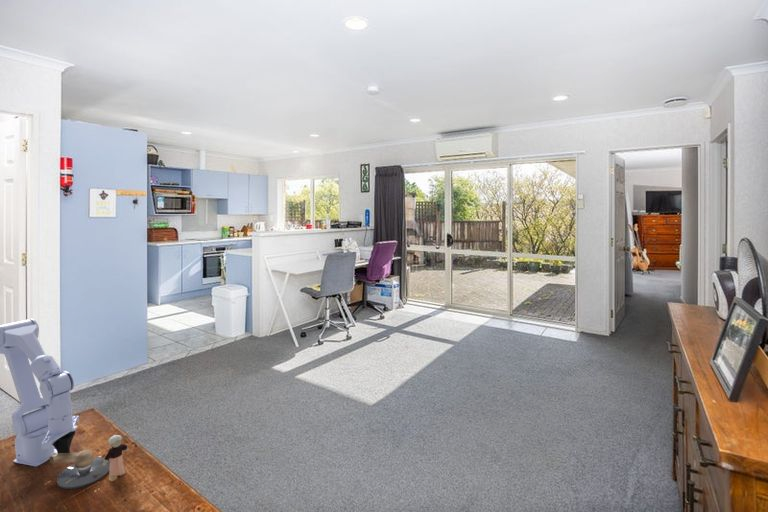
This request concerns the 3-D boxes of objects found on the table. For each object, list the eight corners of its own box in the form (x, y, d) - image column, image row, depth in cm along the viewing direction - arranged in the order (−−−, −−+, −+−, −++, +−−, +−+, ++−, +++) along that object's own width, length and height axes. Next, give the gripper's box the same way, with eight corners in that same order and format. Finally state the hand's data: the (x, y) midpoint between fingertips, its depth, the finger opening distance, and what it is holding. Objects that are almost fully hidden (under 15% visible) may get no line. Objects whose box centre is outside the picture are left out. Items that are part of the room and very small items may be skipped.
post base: (45, 484, 117) (44, 474, 116) (87, 457, 129) (86, 447, 129) (82, 492, 114) (81, 481, 113) (121, 463, 126) (120, 453, 126)
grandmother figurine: (113, 484, 117) (109, 443, 116) (101, 482, 118) (98, 441, 116) (134, 467, 125) (131, 428, 123) (123, 466, 125) (120, 427, 124)
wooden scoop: (46, 469, 119) (45, 459, 118) (58, 459, 123) (57, 450, 122) (86, 468, 119) (85, 458, 119) (96, 458, 123) (95, 449, 123)
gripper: (59, 426, 114) (64, 471, 115) (88, 401, 128) (92, 441, 130) (31, 428, 113) (36, 474, 114) (63, 403, 127) (67, 443, 129)
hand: (64, 457), depth 122 cm, fingers closed, pressing on wooden scoop
